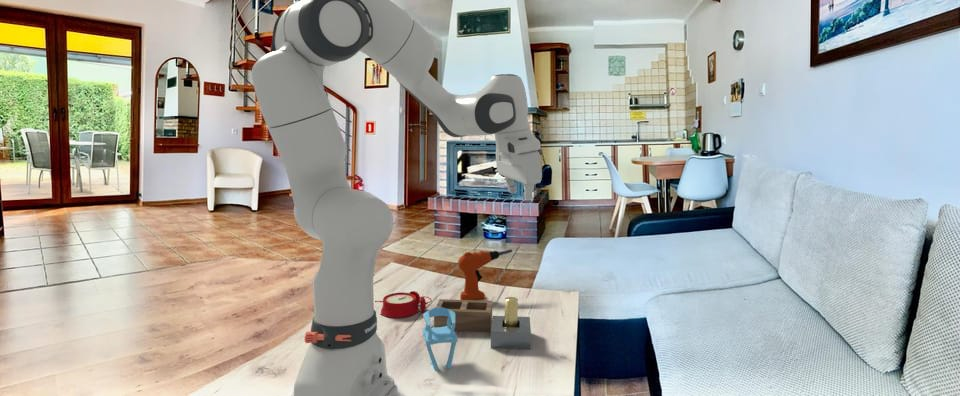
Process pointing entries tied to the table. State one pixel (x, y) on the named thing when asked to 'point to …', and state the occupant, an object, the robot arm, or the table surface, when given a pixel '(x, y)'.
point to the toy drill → (475, 271)
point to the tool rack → (467, 315)
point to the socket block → (511, 334)
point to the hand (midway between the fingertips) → (520, 196)
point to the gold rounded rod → (511, 312)
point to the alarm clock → (402, 304)
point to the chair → (440, 333)
